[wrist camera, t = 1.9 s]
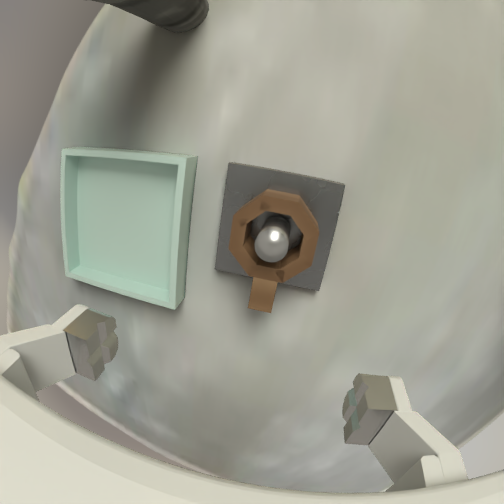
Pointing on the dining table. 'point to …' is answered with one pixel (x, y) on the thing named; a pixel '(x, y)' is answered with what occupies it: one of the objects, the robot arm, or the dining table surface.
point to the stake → (279, 218)
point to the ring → (293, 261)
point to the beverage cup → (166, 12)
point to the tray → (127, 220)
